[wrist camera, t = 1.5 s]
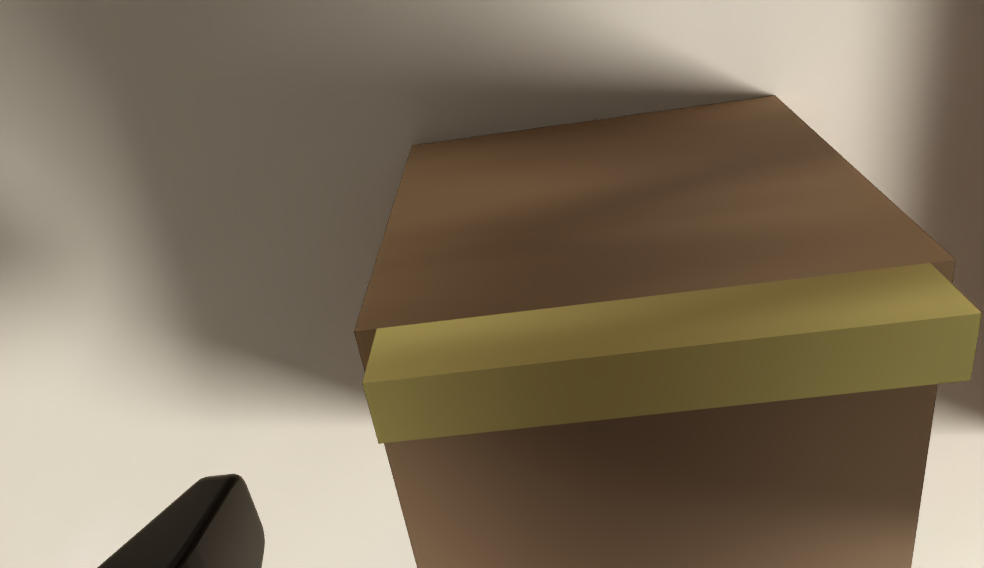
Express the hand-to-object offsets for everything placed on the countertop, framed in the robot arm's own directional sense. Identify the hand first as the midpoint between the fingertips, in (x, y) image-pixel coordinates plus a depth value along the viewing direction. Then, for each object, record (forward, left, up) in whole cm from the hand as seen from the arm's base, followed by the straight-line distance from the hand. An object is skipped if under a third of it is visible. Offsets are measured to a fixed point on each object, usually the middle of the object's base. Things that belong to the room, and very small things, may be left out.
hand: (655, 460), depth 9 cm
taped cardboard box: (0, 0, -4) cm, 4 cm away
